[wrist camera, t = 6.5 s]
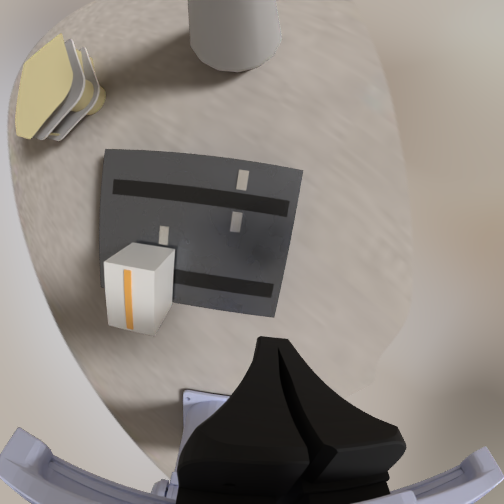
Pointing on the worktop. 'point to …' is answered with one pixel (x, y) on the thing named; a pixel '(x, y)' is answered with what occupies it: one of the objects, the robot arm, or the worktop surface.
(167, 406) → the worktop surface
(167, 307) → the white striped block
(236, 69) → the salt shaker
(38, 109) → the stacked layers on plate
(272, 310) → the console
